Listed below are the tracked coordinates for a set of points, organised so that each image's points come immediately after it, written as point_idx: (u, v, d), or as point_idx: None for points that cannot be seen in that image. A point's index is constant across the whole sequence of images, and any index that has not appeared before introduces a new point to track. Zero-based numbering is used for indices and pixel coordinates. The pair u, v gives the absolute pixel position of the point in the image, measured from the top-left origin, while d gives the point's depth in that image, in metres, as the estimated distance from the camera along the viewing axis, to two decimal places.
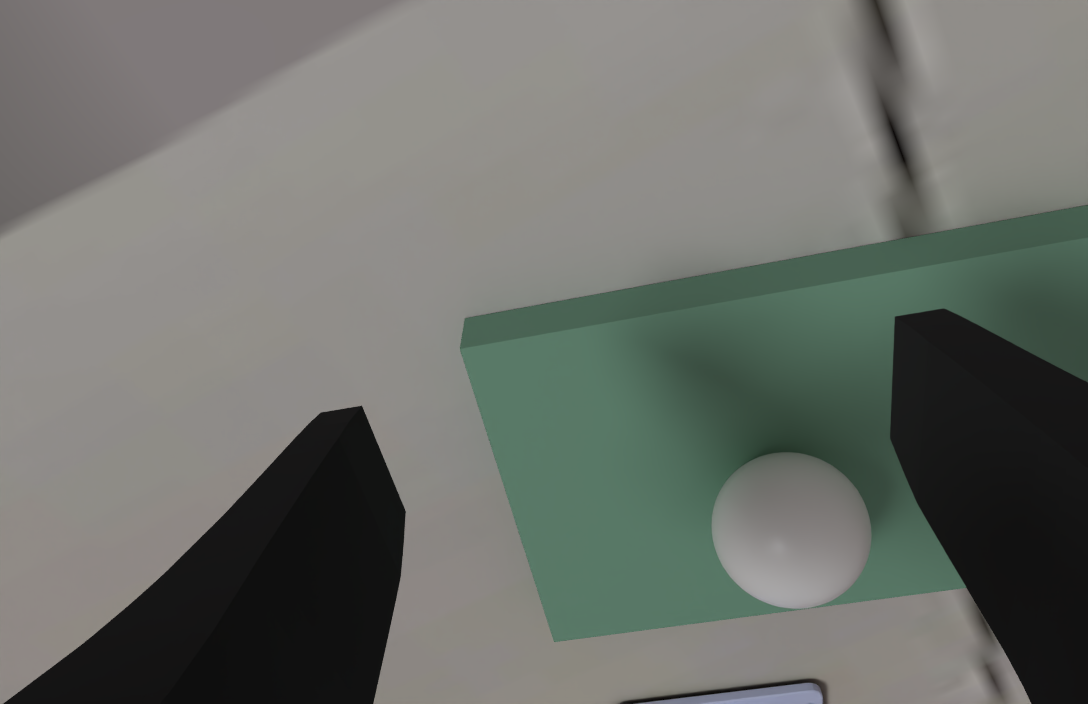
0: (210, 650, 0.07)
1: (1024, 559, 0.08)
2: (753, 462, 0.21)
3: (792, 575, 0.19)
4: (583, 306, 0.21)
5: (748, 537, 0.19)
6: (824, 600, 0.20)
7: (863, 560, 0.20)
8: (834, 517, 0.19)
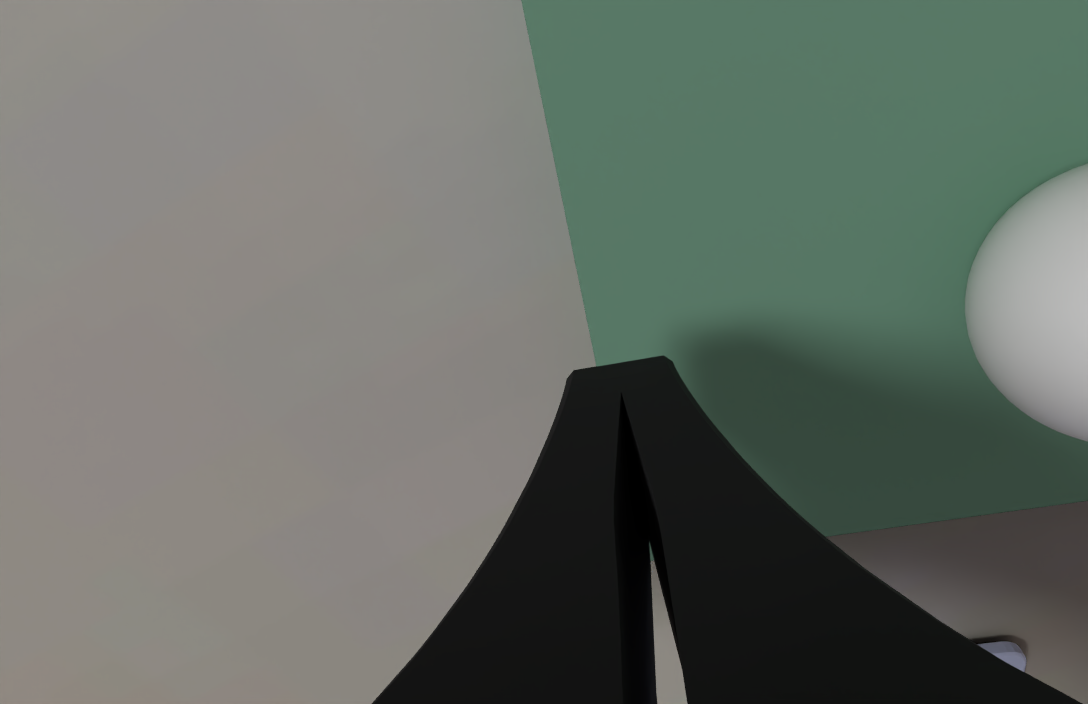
0: (619, 596, 0.06)
1: (672, 605, 0.08)
2: (1061, 174, 0.11)
3: None
4: None
5: None
6: None
7: None
8: None
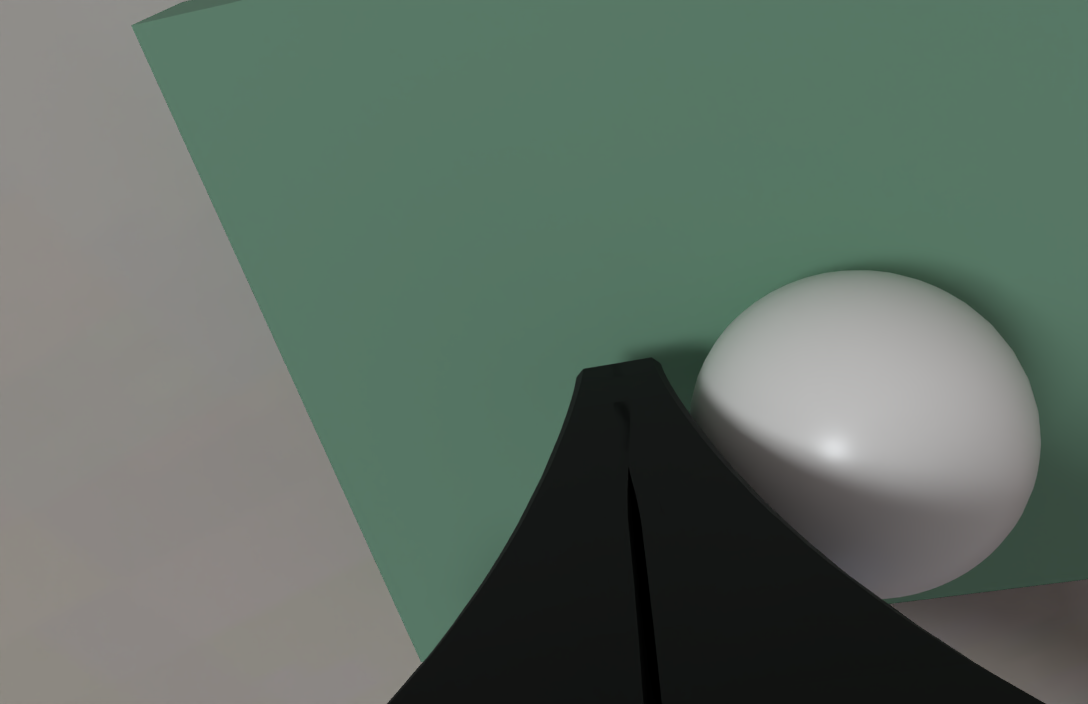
0: (636, 594, 0.06)
1: None
2: (774, 291, 0.10)
3: (882, 517, 0.08)
4: None
5: (775, 434, 0.08)
6: (946, 577, 0.09)
7: (1032, 483, 0.09)
8: (975, 378, 0.08)
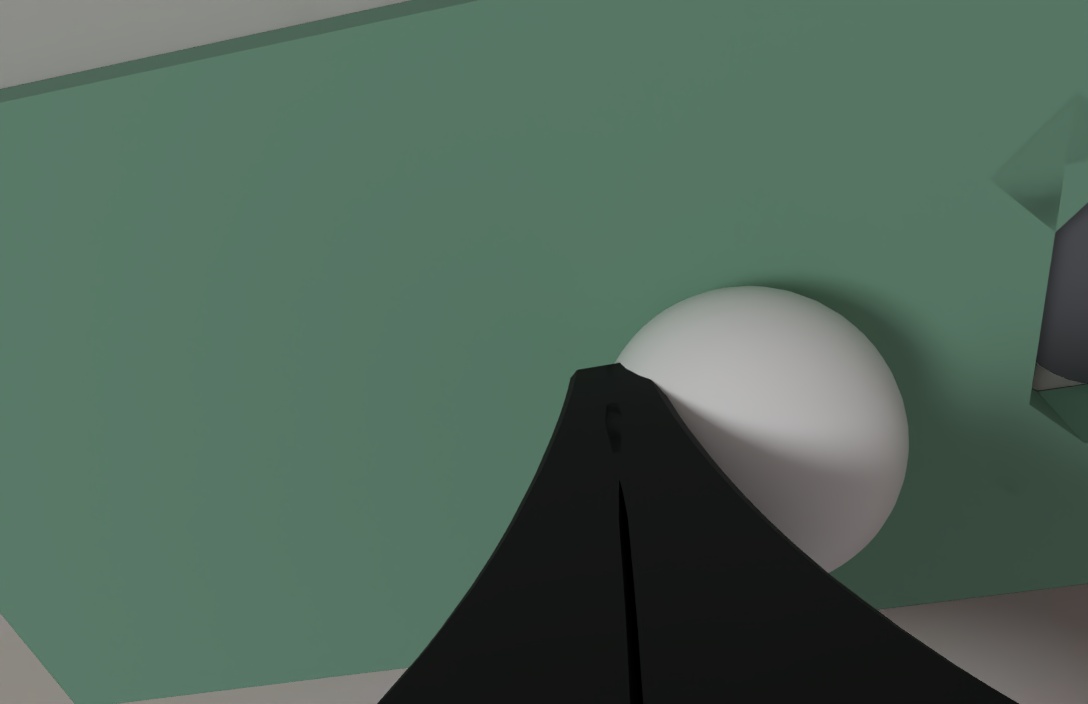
0: (625, 594, 0.06)
1: None
2: (827, 373, 0.09)
3: None
4: None
5: None
6: None
7: None
8: (641, 331, 0.11)
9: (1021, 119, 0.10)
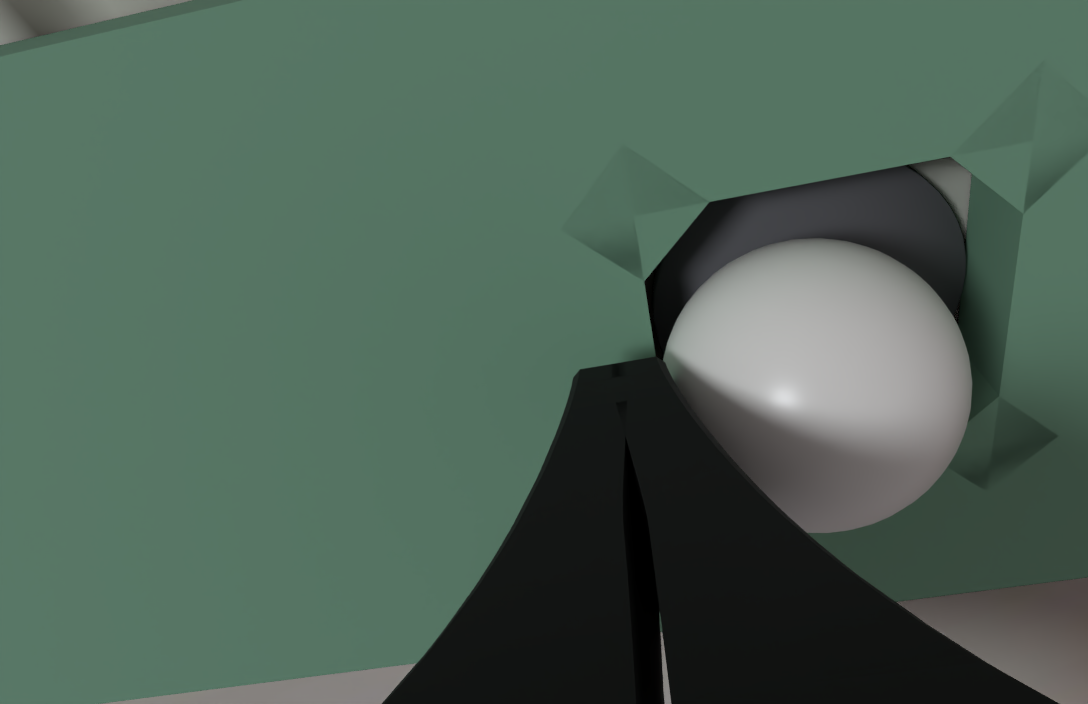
0: (629, 595, 0.06)
1: None
2: (756, 361, 0.09)
3: None
4: None
5: (924, 303, 0.10)
6: None
7: None
8: None
9: (574, 172, 0.10)
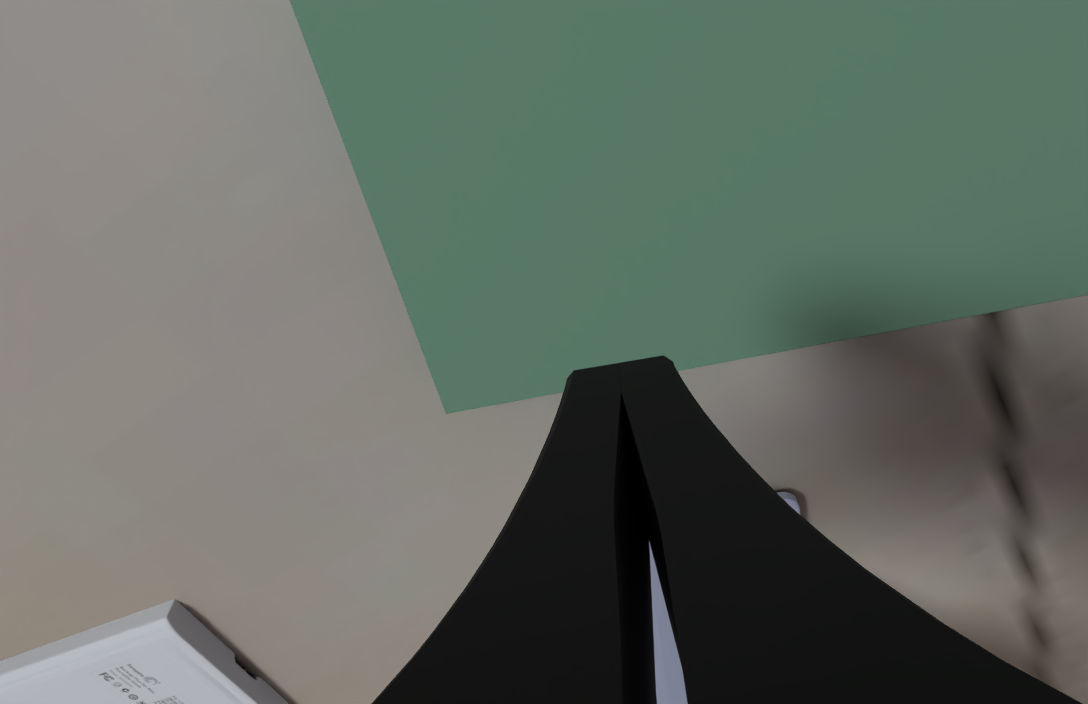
0: (619, 596, 0.06)
1: (672, 605, 0.08)
2: None
3: None
4: None
5: None
6: None
7: None
8: None
9: None
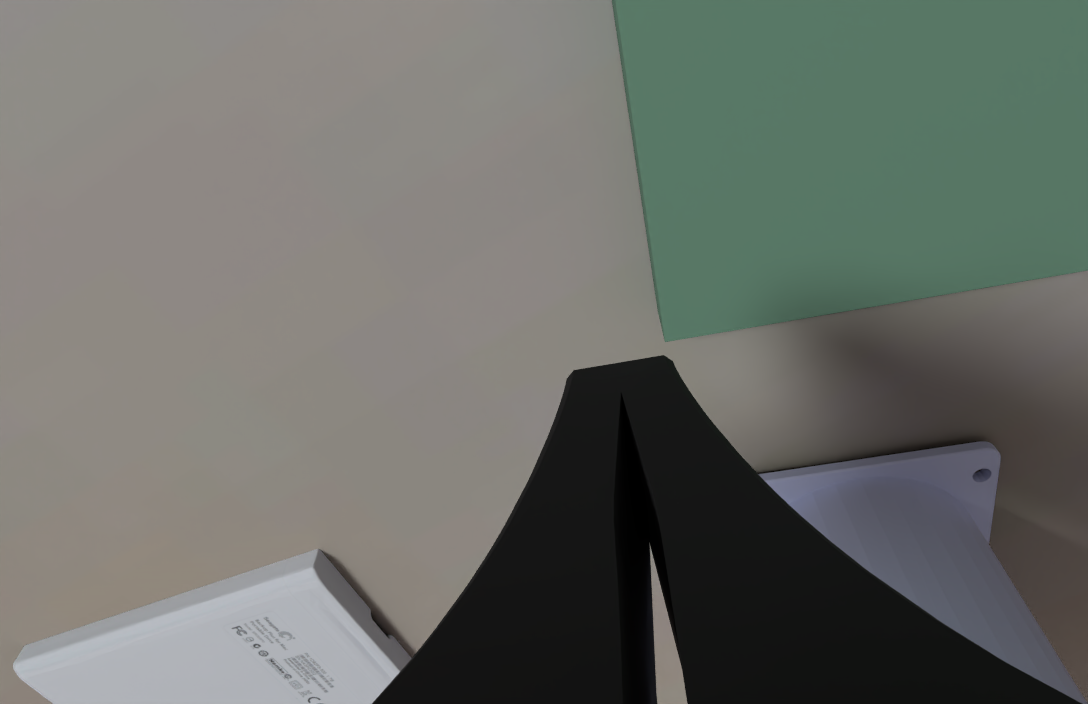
0: (619, 596, 0.06)
1: (672, 605, 0.08)
2: None
3: None
4: None
5: None
6: None
7: None
8: None
9: None
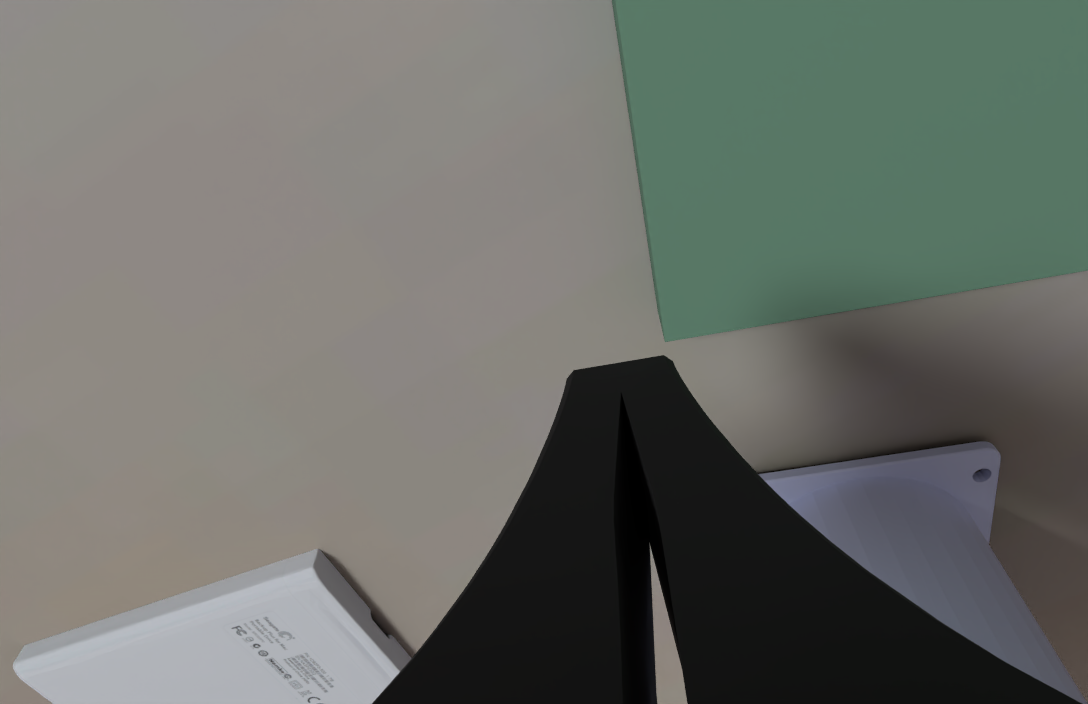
0: (619, 596, 0.06)
1: (672, 605, 0.08)
2: None
3: None
4: None
5: None
6: None
7: None
8: None
9: None
